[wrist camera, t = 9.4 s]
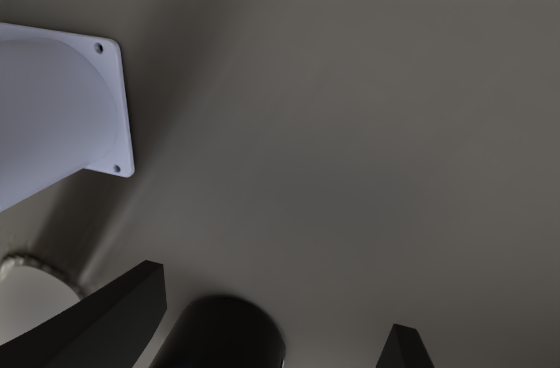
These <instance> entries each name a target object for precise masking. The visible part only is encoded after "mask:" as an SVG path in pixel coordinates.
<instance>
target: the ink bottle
mask: <svg viewBox="0 0 560 368" xmlns="http://www.w3.org/2000/svg"><path fill="white" fill-rule="evenodd" d="M284 361H285V345H284V341H283V339H282V337H281V335H280V333H279V331H278V330H277V328H276V327H275V326H274V325H273V323H272V322H271V321H270V320H269V319H268V318H267V317H266V316H264V315H263V314H262V313H261V312H259V311H258V310H256V309H255V308H253V307H251V306H249V305H247V304H245V303H242V302H239V301H236V300H231V299H223V298H212V299H205V300H201V301H198V302H195V303H193V304H191V305H190V306H188V307H187V308H186V309H185V310H184V311H183V312H182V314H181V315H180V317H179V318H178V320H177V322H176V323H175V325H174V327H173V328H172V330H171V331H170V333H169V335H168V336H167V338H166V340H165V341H164V343H163V345H162V346H161V348H160V349H159V351H158V353H157V354H156V356H155V358H154V359H153V361H152V363H151V364H150V366H149V368H283V366H284Z"/></svg>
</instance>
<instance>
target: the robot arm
mask: <svg viewBox="0 0 560 368" xmlns="http://www.w3.org/2000/svg"><path fill="white" fill-rule="evenodd" d="M100 44H101V45H102V47H103V52H102V51H101V50H100V47H99V46H100ZM117 166H119V167H120V169H121V170H120V169H119V168H118V167H117ZM82 168H86V169H91V170H95V171H100V172H104V173H109V174H114V175H118V176H123V177H129V176H131V175H133V174H134V171H135V169H134V160H133V152H132V144H131V135H130V127H129V119H128V111H127V102H126V94H125V86H124V77H123V69H122V61H121V52H120V48H119V45H118V44H117V42H115V41H114V40H112V39H109V38H102V37H96V36H89V35H82V34H76V33H69V32H62V31H56V30H49V29H42V28H36V27H29V26H22V25H15V24H9V23H2V22H0V212H2V211H4V210H5V209H7V208H9V207H11V206H13V205H15V204H17V203H19V202H20V201H22V200H24V199H26V198H28V197H30V196H32V195H34V194H35V193H37V192H39V191H41V190H43V189H45V188H47V187H49V186H50V185H52V184H54V183H56V182H58V181H60V180H62V179H63V178H65V177H67V176H69V175H71V174H73V173H75V172H77V171H78V170H80V169H82ZM166 310H167V302H166V291H165V279H164V268H163V264H160V263H156V262H152V261H148V260H145V261H143V262H142V263H140V264H139V265H137V266H135V267H134V268H132V269H131V270H129V271H127V272H126V273H124V274H123V275H121V276H120V277H118V278H117V279H115V280H113V281H112V282H110V283H109V284H107V285H106V286H104V287H102V288H101V289H99V290H98V291H96V292H94V293H93V294H91V295H90V296H88V297H86V298H85V299H83V300H81V301H80V302H78V303H77V304H75V305H74V306H72V307H70V308H68V309H67V310H65V311H63V312H61V313H60V314H58V315H56V316H54V317H53V318H51V319H49V320H47V321H46V322H44V323H42V324H40V325H39V326H37V327H35V328H33V329H32V330H30V331H28V332H26V333H24V334H22V335H20V336H19V337H16V338H15V339H13V340H11V341H9V342H7V343H5V344H3V345H1V346H0V368H132V367H133V366H134V364H135V363H136V361H137V360H138V358H139V357H140V355H141V354H142V352H143V351H144V349H145V348H146V346H147V345H148V343H149V342H150V340H151V338H152V337H153V335H154V333H155V331H156V329H157V327H158V326H159V324H160V322H161V320H162V318H163V316H164V314H165V312H166ZM376 368H435V367H434V365H433V363H432V361H431V359H430V357H429V354H428V352H427V350H426V348H425V346H424V344H423V342H422V339H421V337H420V335H419V333H418V331H417V330H416V329H414V328H410V327H406V326H402V325H398V324H393V327H392V329H391V332H390V334H389V336H388V339H387V341H386V344H385V346H384V348H383V351H382V353H381V356H380V358H379V360H378V363H377V365H376Z"/></svg>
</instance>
